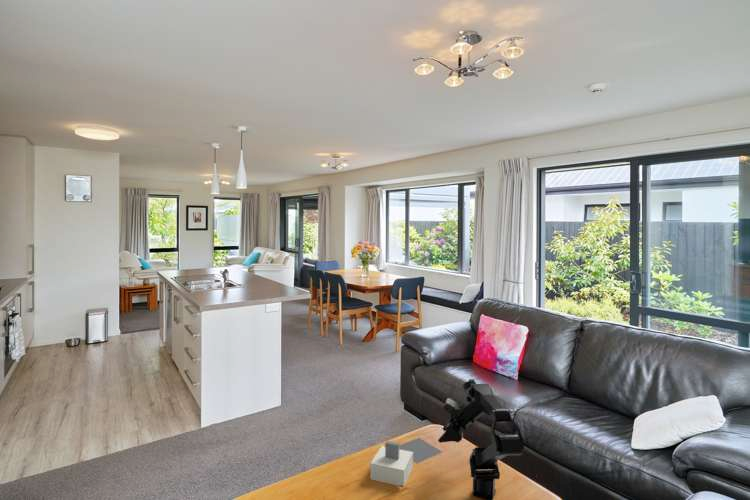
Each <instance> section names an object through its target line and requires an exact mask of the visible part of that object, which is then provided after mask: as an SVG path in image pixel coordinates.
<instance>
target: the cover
mask: <svg viewBox="0 0 750 500" xmlns="http://www.w3.org/2000/svg"><path fill="white" fill-rule="evenodd" d="M400 445H401V443H399V442H395V441H390V440H386V441H385V446H384V445H381V446H380V448H379V450H378V451H377V453H376V454H375V456H374V457H373V458H372V460H371V462H370V473H369V474H370V480H372V481H377V482H381V483H385V484H390V485H394V486H402V487H404V486H405V485H406V483H407V480H408V479H409V475H410V473H411V471H412V470H413V468H414V461H413V452H410V451H405V450H400Z"/></svg>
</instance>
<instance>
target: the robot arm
mask: <svg viewBox="0 0 750 500" xmlns="http://www.w3.org/2000/svg"><path fill="white" fill-rule="evenodd" d="M462 390H463V392H464V396H465V398H466V401H467V404H466V403H464V404H462V405H460V404H459V403H458V402H457V401H454V400H453V399H452V398H449V397H447V399H446V400H445V402H444V404H443V406H442V410H443V411H444V412H446V413H448V414H450V418H449V419H448V420H447V422H446V423H445V425H444V426H443V427H442V430H443V431H444V432H443V433H442V434H441V436H440V437H439V438H438V440H437V441H438V442H439V443H441V444H443V443H449V442H450V443H451V442H455V443H458V444H459V443H460V442H461V441H462V440H463V437H464V431H465V430H467V428H468V426H469V425H470V424H475V422H476V420H477V419H478V418H479V417H481V416H482V415H483V414H485V415H487V416H490V417H491V422H492V425H491V427H490V431H489V437H490V441H491V445H489V446H476V447H474V448H473V449H472V451H471V454H470V455H469V461H468V462H469V469H470V477H471V478H473V479H472V491H473V494H472V495H473V497H475V498H480V499H483V500H494V497H495V494H496V488H495V487H496V480H500V479H501V478H500V477H501V474H500V469H499V465H498V461H500V460H502V459H503V458H506V457H507V456H521V455H523V452H524V449H525V445H524V438H523V436H522V432H521V429H520V427H519V426H518V425H517V424H516V422H515V421H514V420H513V419H512V416H511V413H510V410H509V409H507V408H506V407H504V406H503V405H502V404H501V403H500V401H498V400H497V398H495V396H494V395H493V389H492V387H491V386H490V384H488V383H477V382H476V381H475V379H474V378H471V379H470V378H469V379H468V381H466V382H465V383H464V384H463V385H462ZM498 423H499V424H500V423H502V424H503V423H505V424H506V425H507V426H508V427H509V428H510V429H511V431H512V432H513V433H500V434H499V433H496V430H495V429H496V426H497V424H498ZM462 429H463V430H462Z"/></svg>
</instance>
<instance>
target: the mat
mask: <svg viewBox="0 0 750 500" xmlns="http://www.w3.org/2000/svg"><path fill="white" fill-rule="evenodd" d="M400 450H405V451H410V452H413V463H416V464H419V463H421V462H424V461H426V460H427V459H430V458H432V457H434V456H436V455H439V454H441V453H443V450H442V451H441V450H440V449H439V448H437V447H435V446H434V445H432V444H430V443H428V442H427V441H425V440H424V439H422V438H420V437H417V438H415V439H412V440H410V441H407V442H405V443H402V444H400Z"/></svg>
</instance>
